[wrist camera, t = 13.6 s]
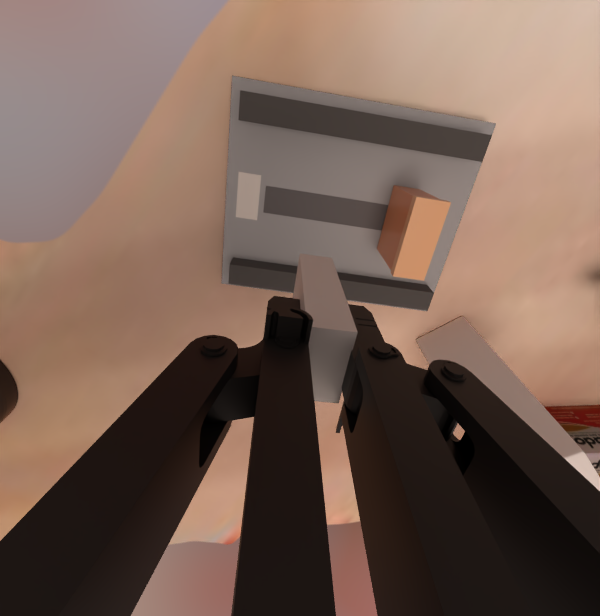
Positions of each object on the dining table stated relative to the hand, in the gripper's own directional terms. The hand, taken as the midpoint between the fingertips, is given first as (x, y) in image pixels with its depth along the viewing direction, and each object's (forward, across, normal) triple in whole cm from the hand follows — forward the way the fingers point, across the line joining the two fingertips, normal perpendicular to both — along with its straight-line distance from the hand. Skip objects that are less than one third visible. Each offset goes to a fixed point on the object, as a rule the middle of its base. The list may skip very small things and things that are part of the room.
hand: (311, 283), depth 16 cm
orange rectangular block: (+17, +9, 0) cm, 20 cm away
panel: (+20, +4, 0) cm, 20 cm away
